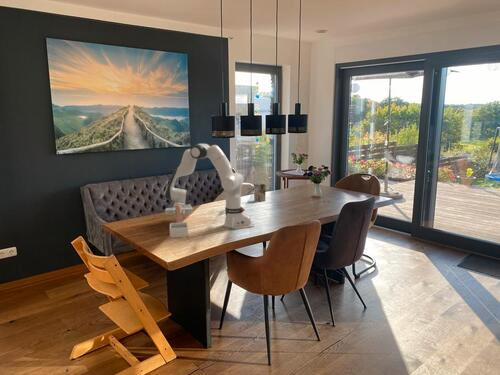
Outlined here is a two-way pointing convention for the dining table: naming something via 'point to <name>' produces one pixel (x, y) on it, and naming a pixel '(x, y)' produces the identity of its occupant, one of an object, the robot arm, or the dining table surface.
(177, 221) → the peg
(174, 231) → the open box
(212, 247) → the dining table surface
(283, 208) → the dining table surface
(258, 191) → the coffee box
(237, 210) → the robot arm
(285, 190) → the dining table surface
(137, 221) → the dining table surface
